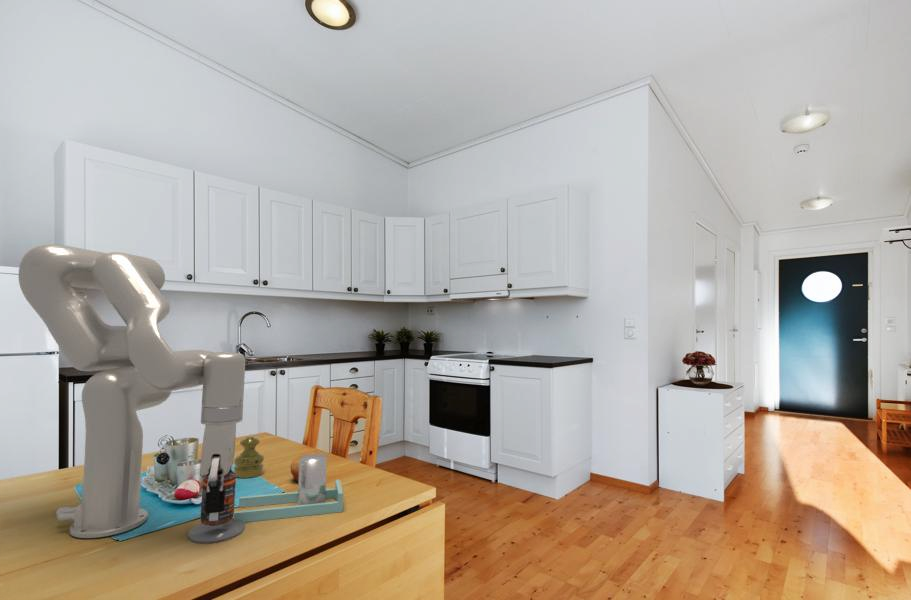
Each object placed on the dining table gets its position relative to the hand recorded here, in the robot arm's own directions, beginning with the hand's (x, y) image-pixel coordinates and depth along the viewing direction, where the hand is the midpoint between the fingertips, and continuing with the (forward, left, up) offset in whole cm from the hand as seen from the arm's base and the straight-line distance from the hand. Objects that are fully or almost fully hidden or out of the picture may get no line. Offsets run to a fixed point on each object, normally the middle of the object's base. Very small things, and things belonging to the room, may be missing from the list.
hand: (217, 504), depth 92 cm
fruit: (+17, +27, -5) cm, 32 cm away
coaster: (0, 0, -5) cm, 5 cm away
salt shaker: (+2, +36, -5) cm, 36 cm away
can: (+18, +8, -5) cm, 20 cm away
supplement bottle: (0, 0, -3) cm, 3 cm away
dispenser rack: (+13, +8, -5) cm, 16 cm away
